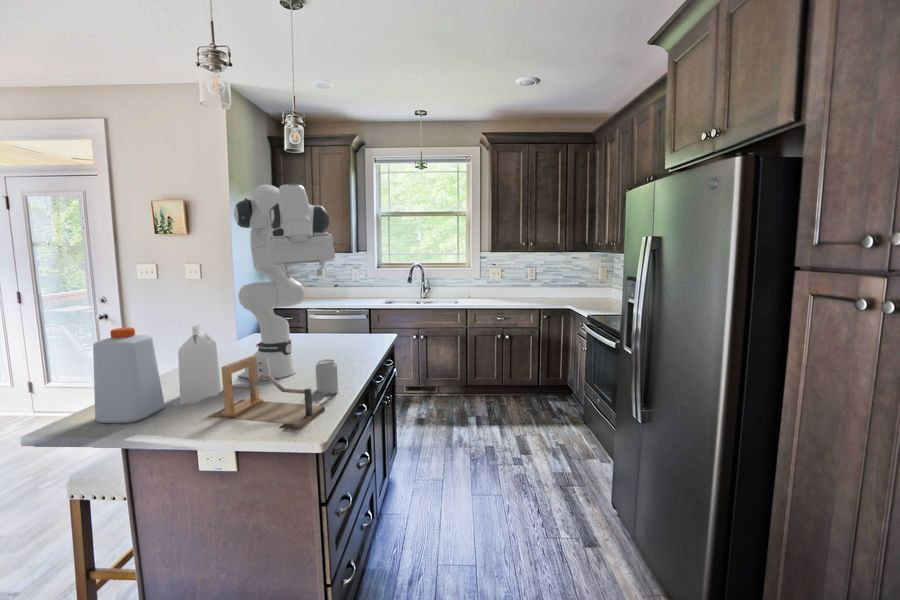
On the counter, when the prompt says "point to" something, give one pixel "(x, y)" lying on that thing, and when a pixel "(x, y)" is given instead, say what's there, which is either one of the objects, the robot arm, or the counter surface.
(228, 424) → the counter surface
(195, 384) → the milk
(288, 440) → the counter surface
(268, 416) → the buzz board
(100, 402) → the plastic bottle
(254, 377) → the wooden frame
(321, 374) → the can
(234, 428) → the counter surface
